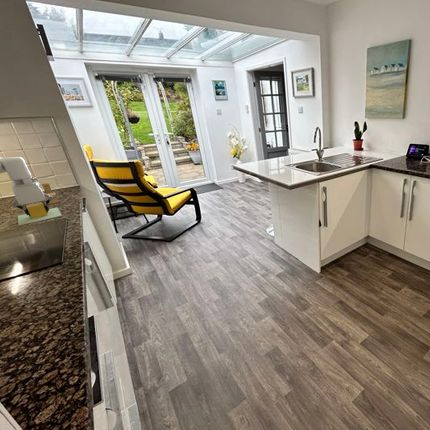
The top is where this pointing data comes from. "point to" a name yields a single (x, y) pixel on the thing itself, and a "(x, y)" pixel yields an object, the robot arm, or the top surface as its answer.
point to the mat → (26, 219)
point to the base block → (54, 199)
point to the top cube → (37, 210)
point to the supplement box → (47, 188)
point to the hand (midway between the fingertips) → (38, 213)
